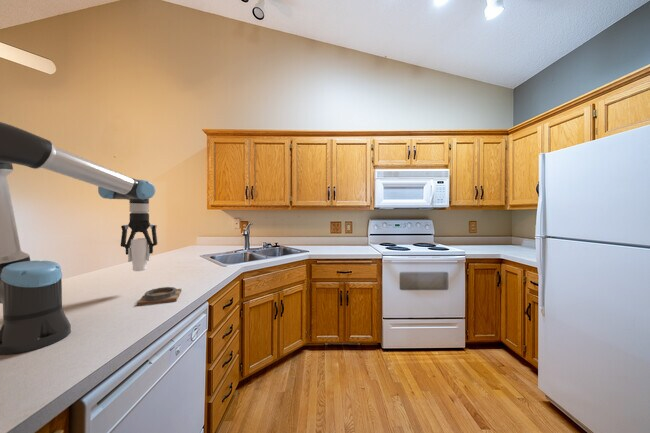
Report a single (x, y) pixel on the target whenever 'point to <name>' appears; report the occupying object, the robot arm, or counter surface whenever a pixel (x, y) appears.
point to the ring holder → (160, 296)
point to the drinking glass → (139, 254)
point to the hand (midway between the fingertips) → (139, 260)
